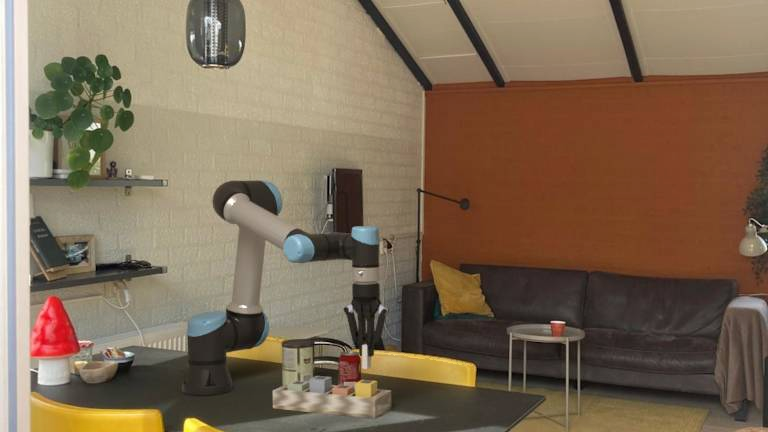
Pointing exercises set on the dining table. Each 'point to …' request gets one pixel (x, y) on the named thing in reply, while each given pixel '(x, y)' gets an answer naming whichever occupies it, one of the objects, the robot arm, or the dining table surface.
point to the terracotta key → (343, 390)
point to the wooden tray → (332, 402)
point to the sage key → (298, 386)
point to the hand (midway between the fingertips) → (366, 367)
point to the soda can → (349, 368)
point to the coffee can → (297, 360)
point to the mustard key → (366, 388)
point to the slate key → (320, 384)
